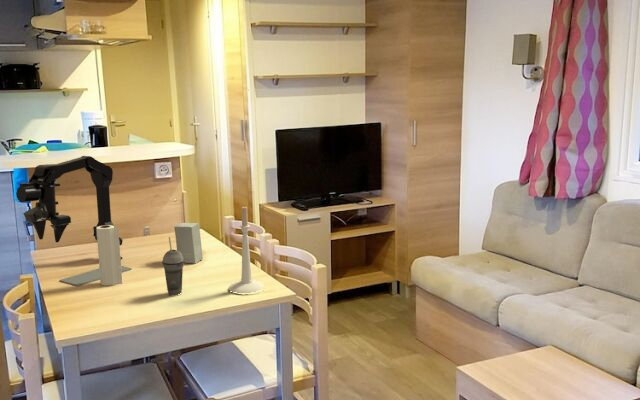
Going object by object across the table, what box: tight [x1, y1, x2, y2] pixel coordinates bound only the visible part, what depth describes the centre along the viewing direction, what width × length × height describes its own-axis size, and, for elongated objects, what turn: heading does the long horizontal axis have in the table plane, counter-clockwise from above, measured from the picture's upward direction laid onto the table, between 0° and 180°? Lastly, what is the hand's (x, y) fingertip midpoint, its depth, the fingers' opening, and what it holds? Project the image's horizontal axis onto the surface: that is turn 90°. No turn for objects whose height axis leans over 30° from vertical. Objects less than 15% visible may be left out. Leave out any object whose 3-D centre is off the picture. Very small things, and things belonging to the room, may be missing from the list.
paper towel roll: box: [96, 225, 123, 287], centre depth 215 cm, size 7×6×21 cm
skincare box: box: [173, 222, 204, 264], centre depth 243 cm, size 8×7×16 cm
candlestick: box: [228, 205, 265, 293], centre depth 207 cm, size 13×13×30 cm
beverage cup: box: [162, 236, 185, 296], centre depth 204 cm, size 7×7×20 cm
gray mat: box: [59, 265, 133, 287], centre depth 227 cm, size 24×11×1 cm, turn 147°
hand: (49, 240), depth 221 cm, fingers open, 9 cm apart
